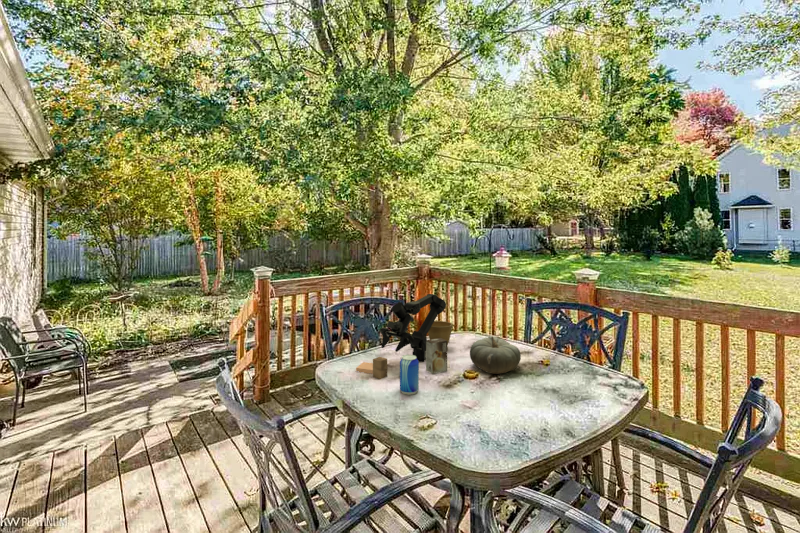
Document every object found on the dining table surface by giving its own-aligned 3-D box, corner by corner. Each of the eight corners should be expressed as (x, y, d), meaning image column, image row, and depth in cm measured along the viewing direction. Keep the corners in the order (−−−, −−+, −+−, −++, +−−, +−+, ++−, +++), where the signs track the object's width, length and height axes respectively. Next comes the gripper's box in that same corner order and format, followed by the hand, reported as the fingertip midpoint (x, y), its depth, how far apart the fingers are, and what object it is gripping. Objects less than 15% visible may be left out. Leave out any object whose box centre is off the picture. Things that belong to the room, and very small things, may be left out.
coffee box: (440, 367, 217) (441, 337, 215) (447, 371, 211) (447, 340, 209) (425, 370, 212) (425, 339, 211) (432, 374, 207) (432, 343, 205)
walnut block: (379, 374, 207) (379, 356, 206) (387, 376, 204) (387, 358, 203) (373, 376, 204) (372, 359, 202) (380, 379, 200) (380, 361, 199)
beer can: (412, 397, 180) (412, 361, 179) (396, 392, 185) (396, 358, 183) (421, 390, 188) (422, 356, 186) (406, 386, 192) (406, 352, 190)
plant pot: (456, 348, 247) (456, 322, 245) (444, 355, 235) (445, 328, 233) (433, 344, 255) (434, 319, 253) (422, 351, 243) (422, 324, 241)
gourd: (487, 352, 233) (491, 323, 228) (527, 370, 216) (532, 340, 211) (460, 367, 216) (463, 337, 211) (501, 388, 199) (505, 356, 194)
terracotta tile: (379, 368, 216) (379, 364, 216) (372, 374, 207) (372, 370, 207) (363, 366, 219) (363, 362, 219) (356, 372, 210) (356, 367, 210)
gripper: (382, 312, 216) (367, 337, 208) (410, 317, 204) (395, 344, 196) (392, 324, 222) (378, 349, 215) (419, 330, 211) (406, 356, 203)
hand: (388, 349), depth 207 cm, fingers open, 9 cm apart
